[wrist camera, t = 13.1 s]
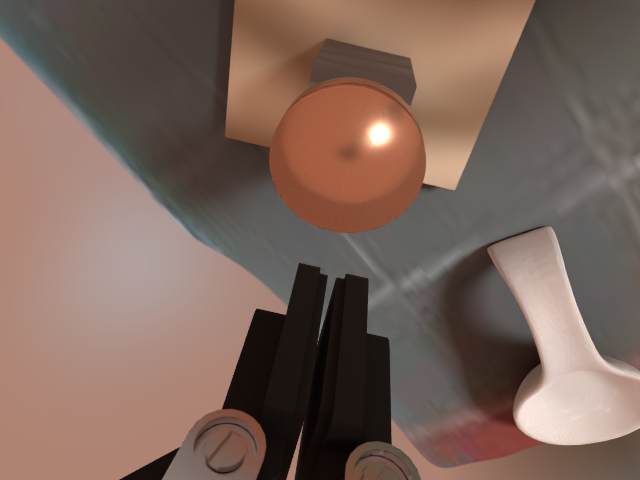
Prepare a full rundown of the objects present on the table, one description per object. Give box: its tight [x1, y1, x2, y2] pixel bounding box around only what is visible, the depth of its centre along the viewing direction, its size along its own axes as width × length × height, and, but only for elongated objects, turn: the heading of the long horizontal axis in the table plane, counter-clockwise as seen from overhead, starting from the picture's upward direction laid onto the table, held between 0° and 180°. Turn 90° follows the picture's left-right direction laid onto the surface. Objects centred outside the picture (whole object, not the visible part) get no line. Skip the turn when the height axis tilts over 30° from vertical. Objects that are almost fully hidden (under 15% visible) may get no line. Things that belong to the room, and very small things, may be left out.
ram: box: [269, 77, 426, 233], centre depth 21 cm, size 6×6×7 cm
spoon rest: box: [487, 227, 640, 445], centre depth 36 cm, size 24×12×7 cm, turn 30°
